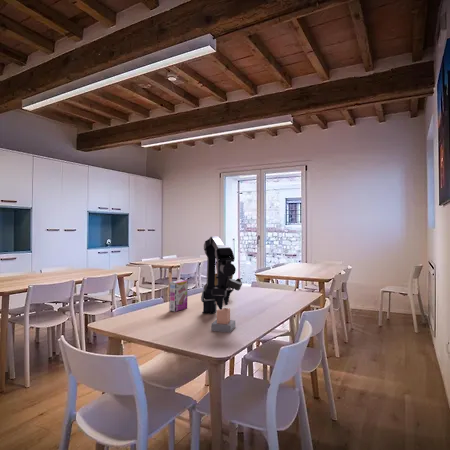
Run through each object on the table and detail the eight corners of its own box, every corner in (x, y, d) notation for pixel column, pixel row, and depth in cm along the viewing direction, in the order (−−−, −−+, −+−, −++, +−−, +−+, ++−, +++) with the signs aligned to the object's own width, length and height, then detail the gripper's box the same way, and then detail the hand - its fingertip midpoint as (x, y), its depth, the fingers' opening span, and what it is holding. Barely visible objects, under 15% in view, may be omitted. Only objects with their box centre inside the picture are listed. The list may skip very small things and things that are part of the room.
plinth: (211, 330, 151) (211, 324, 151) (217, 325, 159) (217, 318, 160) (230, 332, 148) (230, 325, 148) (235, 326, 157) (235, 320, 157)
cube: (216, 323, 152) (216, 310, 152) (220, 320, 157) (220, 307, 157) (227, 324, 151) (227, 310, 151) (230, 321, 156) (230, 308, 156)
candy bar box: (175, 312, 184) (175, 282, 185) (168, 311, 187) (168, 282, 187) (188, 308, 194) (188, 280, 194) (181, 307, 196) (181, 279, 197)
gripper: (235, 276, 143) (235, 313, 143) (244, 271, 161) (244, 303, 161) (211, 276, 146) (211, 311, 146) (222, 271, 164) (222, 302, 164)
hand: (223, 307), depth 154 cm, fingers open, 9 cm apart
